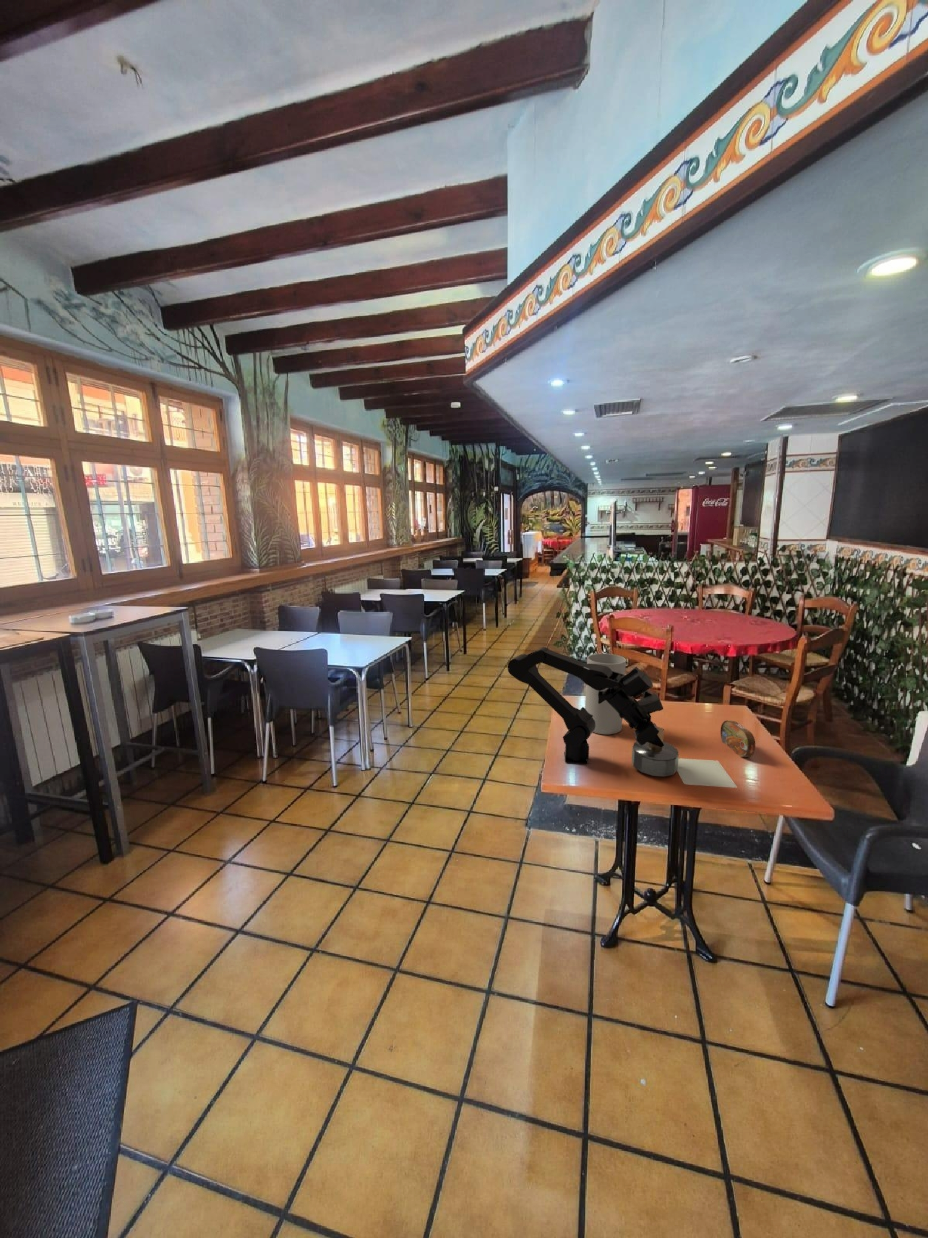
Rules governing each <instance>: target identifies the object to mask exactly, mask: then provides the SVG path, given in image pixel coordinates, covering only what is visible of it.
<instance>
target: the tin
mask: <svg viewBox="0 0 928 1238" xmlns="http://www.w3.org/2000/svg"><path fill="white" fill-rule="evenodd" d="M720 738H721V742H722V743H724V744H725V745H726V746H728V748H730V749H731V750H732V751H733V752H734V753H735V754H736V755H738V756H739V757H740V758H750V757H753V755H754V753H755V749H756V739H755V736H754V735H753V733H752V732H751V731H750V730H748V729H747V728H746V727H744V726H743V725H741V724H740V723H739V722H737V721H734V720H727V719H726V720H724V721H723V722H722V724H721V727H720Z"/></svg>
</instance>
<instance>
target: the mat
mask: <svg viewBox="0 0 928 1238" xmlns="http://www.w3.org/2000/svg"><path fill="white" fill-rule="evenodd" d="M676 773H678V775H679V777H680V780H681V781H682V782H683V784H684V785H691V786H706V787H717V788H718V787H719V788H733V789H735V788H736V789H738V786H737V785H736V783H735V782H734V781H733V779H732V777H731V776H730V775H729V774H728V771H726V769H725V768H724V767H723V766H722V764H721V762H719V760H712V759H710V760H709V759H699V758H698V759H694V758H682V757H681V758H680V757H679V758H678V769H677V771H676Z"/></svg>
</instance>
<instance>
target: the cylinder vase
mask: <svg viewBox="0 0 928 1238" xmlns="http://www.w3.org/2000/svg"><path fill="white" fill-rule="evenodd" d="M586 659H587V660H586V663H587V664H598V665H603V666H607V667H609V668H610V669H611V671H614V672H617V673H620V674H624V675H626V667H627V666H626V665H627V664H626V663H627V659H626V658H625V657H624V656H622V655H618V654H612V653H594V654H593V653H592V654H590V655H588V656H587V658H586ZM606 689H608V688H606ZM606 689H604V690H601V691H605V690H606ZM598 692H599V691H598V690H595V689H593V688H592V687H590V686H588V685H586V684H585V700H584V702H585V703H584V704H585V706H584V708H585V709H586V710H587V712H588V713H589V714H591V715H593V717H592V718H593V719H594V720H595V725H596V727H595V729H594V731H593V732H592V733H595V734H599V735H607V736H608V735H616V734H618V733H619V732H621V731H622V728H623V719H622V718H621V717H620V716H619V714H618V713H617V712H616V711H615V710H614V708H613V707H612V706H611V705H610V704H609V703H608V702H607V701H606V700H605V701H603V702H602V703H600V704H599V703H598Z"/></svg>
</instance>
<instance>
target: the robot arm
mask: <svg viewBox="0 0 928 1238" xmlns="http://www.w3.org/2000/svg"><path fill="white" fill-rule="evenodd" d="M539 664H543V665H546V666H550V668H551V667H552V668H553V669H556V670H559V671H561V672H563V673H565V674H569V675H571V676H574V677H577V678H578V679H579V680H581V681H582V682H583V683H584V684H585V686H586V685H588V686H590V687H592V688H593V689H595V690H598V691H599V692H598V703H599V704H600V703H602V702H603V701H605V700H606V701H607V702H608V703H609V704H610V705H611V706H612V707H613V708H614V710H615V711H616V712H617V713H618V714H619V716H620V717H621V718H622V720H624V722H626V723H627V725H628V726H629V728H630V729H631V730H633V729H634V732H633V736H634V738H635V742H638V743H639V744H640V745H644V744H645V743H646V742H649V743H651V744H654V745H657V746H659V747H663V746H664V744H663V742H664V741H663V742H662V741H661V739H660V738H659V736H658V735H657V734H658V733H659V730H658V728H657V727H658V726H657V725H656V723H655V722H653V720H652V715H651V714H654V713H656V712H660V711H663V710H664V706H663V703H662V702H661V700H660V699H661V698H660V697H659V695H658V694H656V693H652V692H650V691H649V690H650V689H651V688H653V687H654V685H653V682H652V679H651V678H650V676H649V675H648V673H645V672H644V671H643V670H641V669H639V668H638V666H635V667H633V668H632V669H631V670H630V671H629V672H627V673H625V675H624V674H620V673H617V672H614V671H611V669H610V668H609V667H607V666H603V665H598V664H587V662H583V661H580V660H578V659H574V658H573V657H570V656H566V655H564V654H561V653H559V652H556V651H554V650H552V649H549V648H548V647H545V646H543V647H540V648H539V649H537V650H535V651H532V652H530V653H528V654H525V653H524V654H523V653H521V654H518V655H517V656H515V657H513V658H512V659H510V660H509V661H508V663H507V672H508V674H509V675H511V677H512V678H514V679H516V680H518V681H519V682H521V683H523V684H526V685H528V686H529V687H530V688H531V689H532V690H533V691H534V692H535V693H536V694H537V695H538V696H539V697H541V699H542V700H543V701H544V702H545V703H546V704H547V705H548V706H550V708H552V709H553V710H554V711H555V713H557V714H558V715H559V716H560V717H561V719H562V720H563V723H564V725H565V727H566V730H567V732H565V733H564V735H563V736H562V740H563V743H564V745H565V746H564V752H563V753H564V754H563V755H564V762H565V764H566V763H567V764H579V765H581V764H583V765H588V760H589V759H590V758H589V757H590V756H589V755H590V744H589V742H588V739H589V738H590V737H591V735H592V734H593V733H594V732H593V731H594V729H595V727H596V725H595V720H594V719H593V718H592V717H593V715H591V714H589V713H588V712H587V710H586V709H585V706H582V707H581V708H580V709H579V708H577V707H574V706H573V705H572V704H571V703H570V702H569V701H568V700H567V699H566V698H565V697H564V696H563V695H562V694H561V693H560V692H559V691H558V690H557V689H555V687H553V685H551V683H549V681H547V680H546V679H545V677H543V676H542V675H541V673H540V671H539V670H538V667H537V665H539ZM606 688H608V689H606ZM604 689H606V690H605V691H601V690H604ZM641 695H642V697H640V699H638V700H637V699H636V698H638V697H639V696H641Z"/></svg>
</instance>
